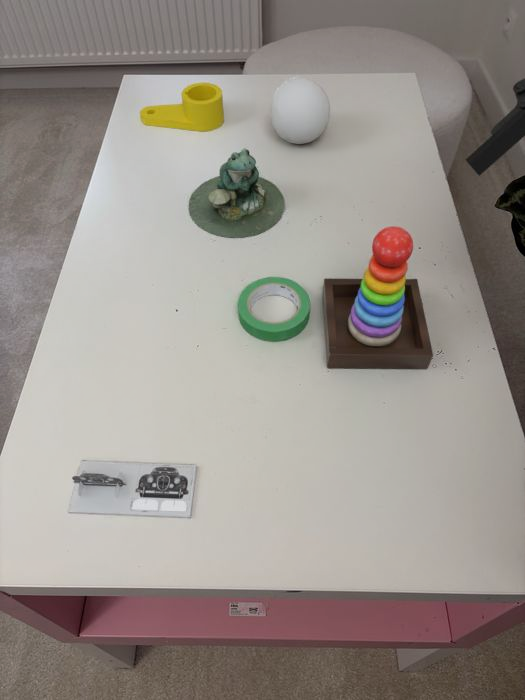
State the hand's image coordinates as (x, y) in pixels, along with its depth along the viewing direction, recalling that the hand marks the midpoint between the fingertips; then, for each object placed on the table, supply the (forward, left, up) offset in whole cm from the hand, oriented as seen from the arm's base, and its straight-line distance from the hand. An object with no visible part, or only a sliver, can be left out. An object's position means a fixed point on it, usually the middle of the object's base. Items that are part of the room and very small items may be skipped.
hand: (510, 208), depth 50 cm
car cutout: (-18, +40, -30) cm, 53 cm away
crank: (+65, +43, -30) cm, 83 cm away
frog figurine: (+37, +30, -30) cm, 56 cm away
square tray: (+8, +8, -30) cm, 32 cm away
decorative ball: (+58, +18, -30) cm, 67 cm away
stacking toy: (+8, +8, -29) cm, 31 cm away
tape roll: (+11, +23, -30) cm, 39 cm away
